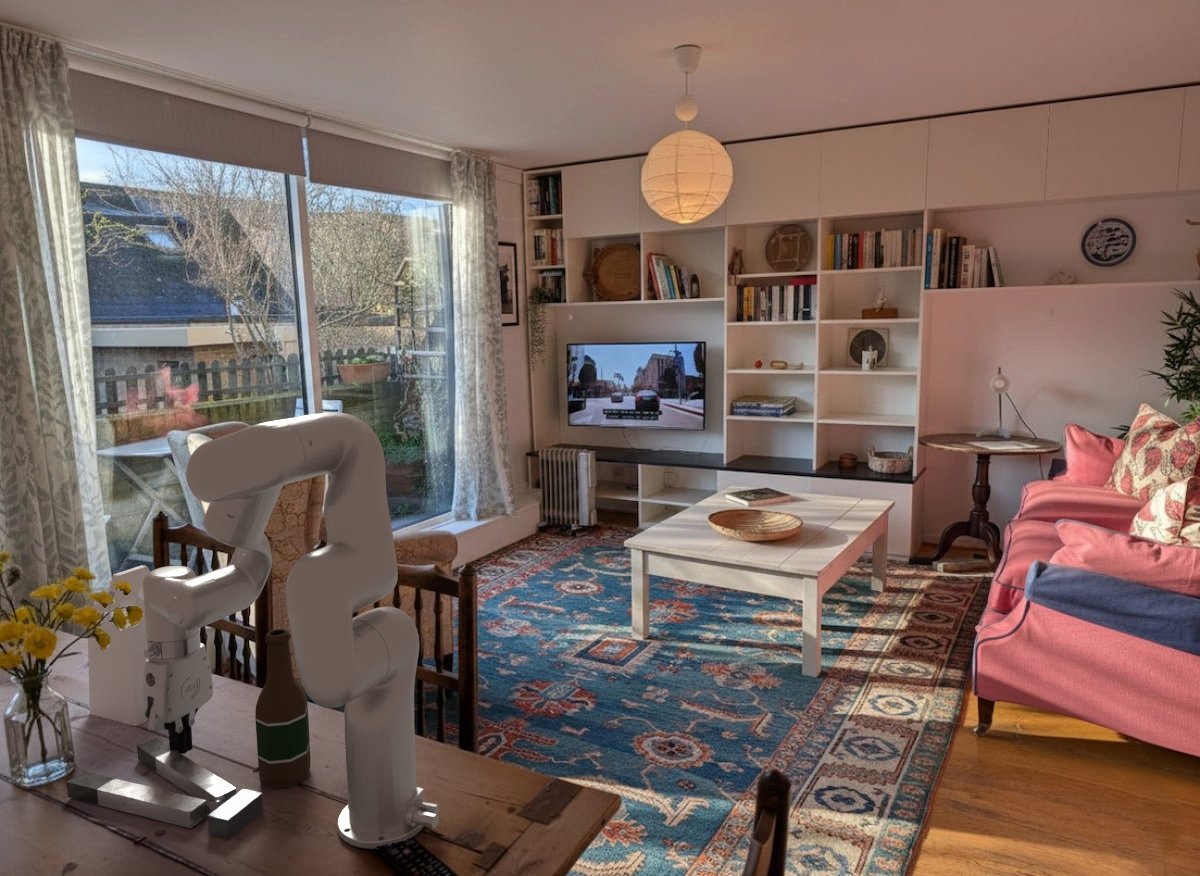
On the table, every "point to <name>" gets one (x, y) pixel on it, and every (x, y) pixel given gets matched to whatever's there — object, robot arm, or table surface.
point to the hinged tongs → (167, 803)
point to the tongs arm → (185, 773)
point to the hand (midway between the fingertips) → (181, 749)
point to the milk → (120, 658)
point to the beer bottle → (282, 719)
